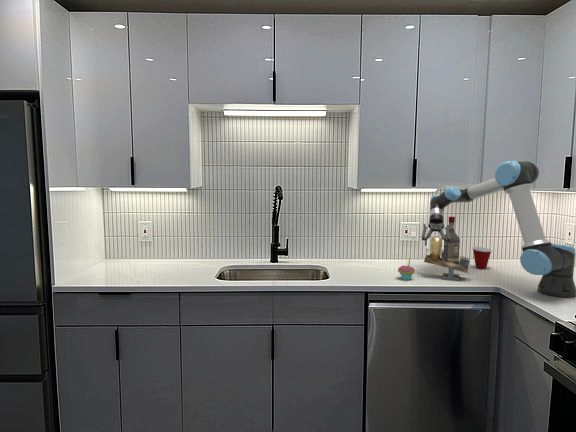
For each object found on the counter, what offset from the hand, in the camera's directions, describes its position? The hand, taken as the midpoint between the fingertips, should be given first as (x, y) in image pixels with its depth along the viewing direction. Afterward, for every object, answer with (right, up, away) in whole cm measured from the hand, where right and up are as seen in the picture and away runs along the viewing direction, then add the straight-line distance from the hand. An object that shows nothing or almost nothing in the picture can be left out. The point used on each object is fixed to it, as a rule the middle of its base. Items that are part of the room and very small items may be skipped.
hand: (435, 250), depth 205 cm
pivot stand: (+9, -15, +1) cm, 18 cm away
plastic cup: (+37, -13, +25) cm, 47 cm away
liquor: (+23, -12, +34) cm, 43 cm away
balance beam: (+6, -8, +2) cm, 11 cm away
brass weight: (+1, -5, +4) cm, 7 cm away
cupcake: (-16, -15, -1) cm, 22 cm away
